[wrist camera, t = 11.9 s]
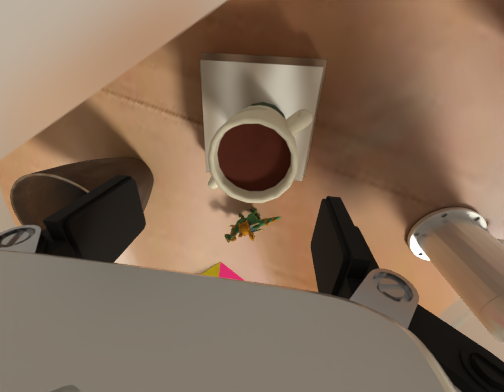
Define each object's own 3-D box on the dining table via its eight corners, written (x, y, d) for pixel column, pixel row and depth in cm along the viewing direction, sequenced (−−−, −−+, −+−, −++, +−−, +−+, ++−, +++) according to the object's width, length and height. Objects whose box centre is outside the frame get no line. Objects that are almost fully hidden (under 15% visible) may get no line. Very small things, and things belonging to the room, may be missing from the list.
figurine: (225, 217, 45) (216, 243, 38) (277, 196, 41) (277, 222, 34) (233, 228, 46) (224, 255, 39) (283, 209, 43) (285, 235, 36)
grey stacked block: (321, 61, 30) (334, 56, 23) (302, 167, 38) (307, 187, 31) (210, 54, 31) (190, 48, 24) (214, 159, 39) (200, 177, 32)
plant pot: (186, 194, 43) (144, 250, 30) (132, 215, 48) (73, 273, 34) (140, 125, 37) (59, 154, 23) (83, 156, 42) (-14, 196, 28)
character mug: (283, 73, 24) (287, 71, 13) (314, 125, 27) (341, 161, 15) (213, 130, 28) (171, 166, 17) (246, 171, 31) (228, 226, 19)
